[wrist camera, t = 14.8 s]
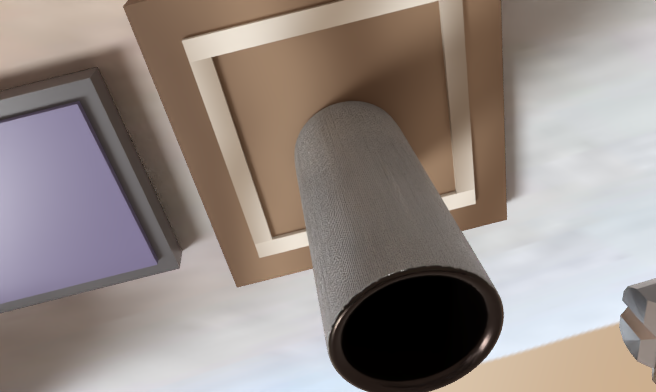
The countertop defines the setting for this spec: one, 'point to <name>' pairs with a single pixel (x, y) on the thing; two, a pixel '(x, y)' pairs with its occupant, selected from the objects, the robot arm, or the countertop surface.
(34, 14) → the countertop surface
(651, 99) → the countertop surface
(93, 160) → the ink pad
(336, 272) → the planter
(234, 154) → the marked board
